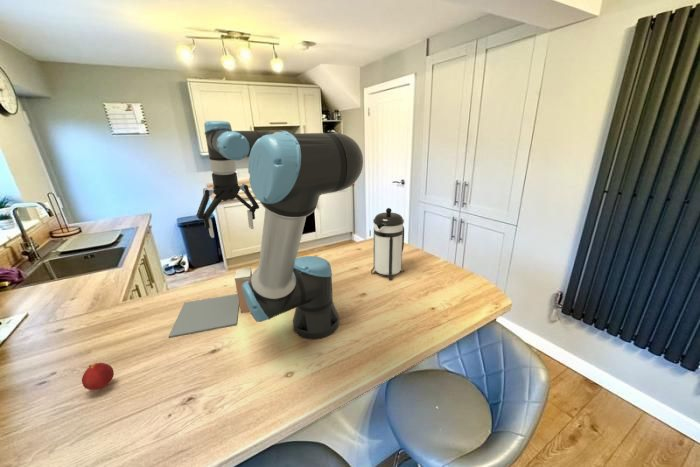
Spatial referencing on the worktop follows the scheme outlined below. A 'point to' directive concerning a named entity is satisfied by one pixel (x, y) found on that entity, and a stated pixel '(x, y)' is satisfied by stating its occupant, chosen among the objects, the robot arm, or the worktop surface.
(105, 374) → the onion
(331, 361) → the worktop surface
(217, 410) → the worktop surface
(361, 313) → the worktop surface
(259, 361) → the worktop surface
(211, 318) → the mat
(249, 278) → the tall block
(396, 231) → the coffee press
